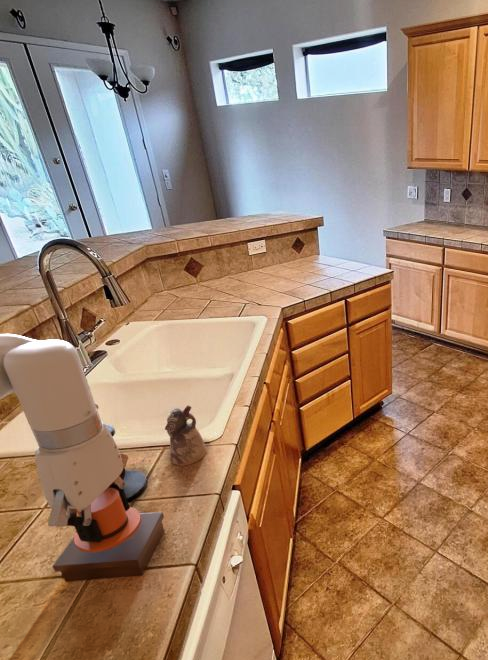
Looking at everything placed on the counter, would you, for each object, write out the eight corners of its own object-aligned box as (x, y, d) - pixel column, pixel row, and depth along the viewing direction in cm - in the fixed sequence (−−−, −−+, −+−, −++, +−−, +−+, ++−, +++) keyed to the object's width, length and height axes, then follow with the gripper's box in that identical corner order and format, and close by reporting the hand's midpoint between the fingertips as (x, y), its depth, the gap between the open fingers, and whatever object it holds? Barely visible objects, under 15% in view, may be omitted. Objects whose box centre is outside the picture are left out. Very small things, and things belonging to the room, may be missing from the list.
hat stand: (77, 511, 79) (51, 449, 73) (104, 476, 88) (83, 418, 82) (134, 507, 80) (113, 446, 74) (155, 473, 89) (138, 415, 83)
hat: (62, 555, 64) (47, 524, 61) (93, 511, 72) (82, 482, 69) (126, 550, 65) (114, 519, 62) (150, 507, 73) (141, 478, 70)
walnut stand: (61, 584, 65) (52, 566, 64) (95, 534, 74) (88, 516, 73) (144, 577, 67) (137, 559, 65) (167, 528, 76) (162, 511, 74)
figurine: (168, 452, 96) (156, 405, 90) (202, 442, 99) (192, 397, 94) (173, 469, 90) (160, 421, 85) (209, 458, 94) (198, 411, 88)
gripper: (87, 396, 68) (119, 486, 75) (-14, 465, 52) (39, 569, 60) (133, 398, 67) (160, 488, 75) (45, 468, 52) (91, 572, 60)
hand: (106, 523), depth 68 cm, fingers closed on hat, 5 cm apart
